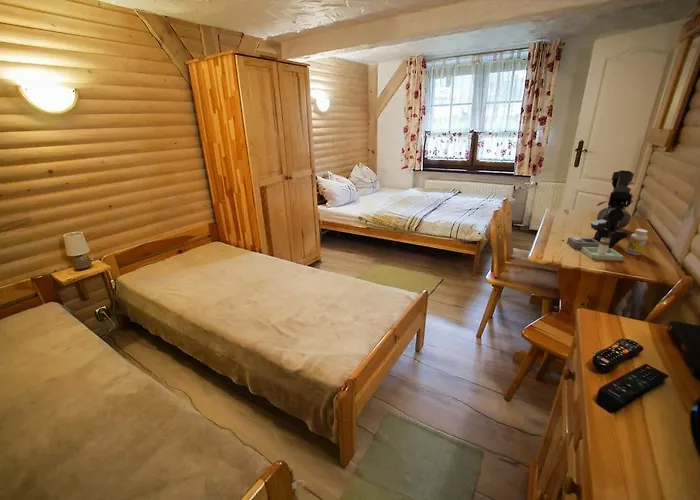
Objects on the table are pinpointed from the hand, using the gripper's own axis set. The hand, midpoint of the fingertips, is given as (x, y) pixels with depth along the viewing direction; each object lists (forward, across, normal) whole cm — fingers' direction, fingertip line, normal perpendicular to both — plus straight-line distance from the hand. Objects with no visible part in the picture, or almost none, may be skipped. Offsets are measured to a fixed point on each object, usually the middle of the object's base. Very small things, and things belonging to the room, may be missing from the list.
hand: (604, 244), depth 164 cm
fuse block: (+6, -13, -3) cm, 15 cm away
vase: (+6, -48, +30) cm, 57 cm away
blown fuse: (+6, 0, 0) cm, 6 cm away
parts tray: (+6, 0, 0) cm, 6 cm away
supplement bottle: (+6, -6, +19) cm, 21 cm away
